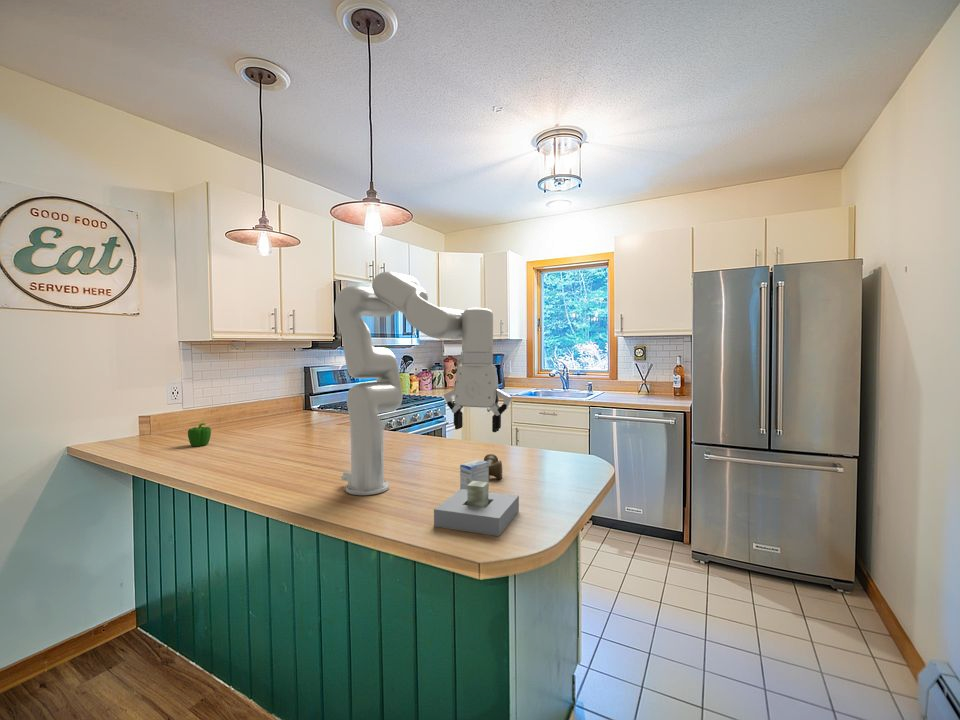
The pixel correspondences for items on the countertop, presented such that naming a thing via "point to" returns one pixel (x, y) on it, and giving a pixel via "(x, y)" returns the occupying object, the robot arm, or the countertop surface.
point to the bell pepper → (199, 435)
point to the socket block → (477, 513)
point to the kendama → (494, 466)
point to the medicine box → (474, 472)
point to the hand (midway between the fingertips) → (476, 429)
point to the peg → (477, 494)
